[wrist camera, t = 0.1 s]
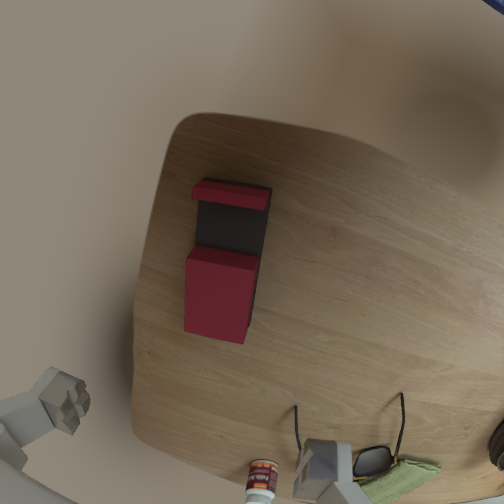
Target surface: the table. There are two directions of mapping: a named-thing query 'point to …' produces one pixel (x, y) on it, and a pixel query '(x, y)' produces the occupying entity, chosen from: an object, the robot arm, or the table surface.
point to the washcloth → (398, 480)
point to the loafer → (497, 448)
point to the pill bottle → (261, 482)
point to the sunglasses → (371, 454)
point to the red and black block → (225, 258)
